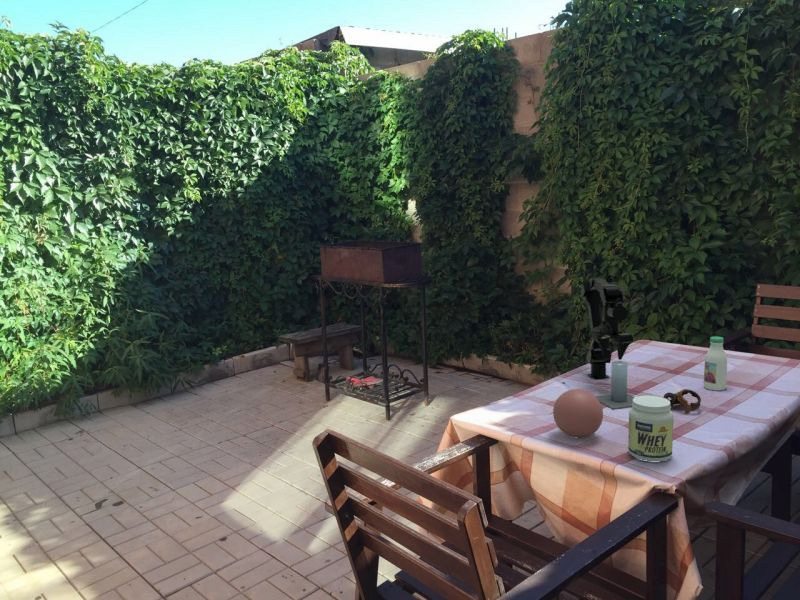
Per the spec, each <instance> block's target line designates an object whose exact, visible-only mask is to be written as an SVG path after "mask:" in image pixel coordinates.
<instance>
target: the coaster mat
mask: <svg viewBox="0 0 800 600" xmlns="http://www.w3.org/2000/svg"><path fill="white" fill-rule="evenodd" d="M594 396H595V395H594ZM595 397H596V398H597V399H598V400H599V402H600V404H601V403H602V404H601V405H603V406H605V407H606V408H609V409H610V408H611V410H620V409H627V408H632V407H633V406H632V403H633V398H635V397H636V396H633V395H631V394H629V393H627V401H626V402H614V401H611V393H609V394H601V395H596V396H595Z"/></svg>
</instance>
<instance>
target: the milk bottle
mask: <svg viewBox="0 0 800 600" xmlns="http://www.w3.org/2000/svg"><path fill="white" fill-rule="evenodd" d="M724 342H725V341H724V337H723V336H710V338H709V343H710V345H709V348H708V351H707V352H706V354H705V359H704V371H703V372H704V374H703V376H704V377H703V388H704V389H707V390H709V391H720V392H721V391H724V390H726V388H727V374H728V358H727V354H726V352H725V349H724V346H723V345H724Z"/></svg>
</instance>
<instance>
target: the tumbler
mask: <svg viewBox="0 0 800 600" xmlns="http://www.w3.org/2000/svg"><path fill="white" fill-rule="evenodd" d="M610 364H611V365H610V366H611V369H610V370H611V372H610V375H611V376H610V394H611V401H614V402H626V401H627V394H628V393H627V392H628V370H629V369H628V367H629V365H628V362H626V361H621V360H616V361H612V362H611V363H610Z"/></svg>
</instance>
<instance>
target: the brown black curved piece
mask: <svg viewBox="0 0 800 600" xmlns="http://www.w3.org/2000/svg"><path fill="white" fill-rule="evenodd" d="M688 394H690V395H691V396H692V397H694V398H696V400H697V402H690V404H688V403H689V401H688V400H687V399H686V398H685V397H684V396H685V395H688ZM663 398H665V399H667V400H669V401H670V406H671V408H673V407H674V406H675V405H682V406H684V407H685V408H684V410H683V413H684V414H686V415H688V414H689V413H691V412H695V411H697V410H698V409H699V408H700V407H701V402H702V399H701V396H700V395H699V394H698V393H697V392H696V391H694V390H692V389H689V388H687V389H686V388H684V389H683V388H682V389H681V390H680V391H678V392H676V393H674V392H666V393H664V395H663ZM669 398H670V399H669Z"/></svg>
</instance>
